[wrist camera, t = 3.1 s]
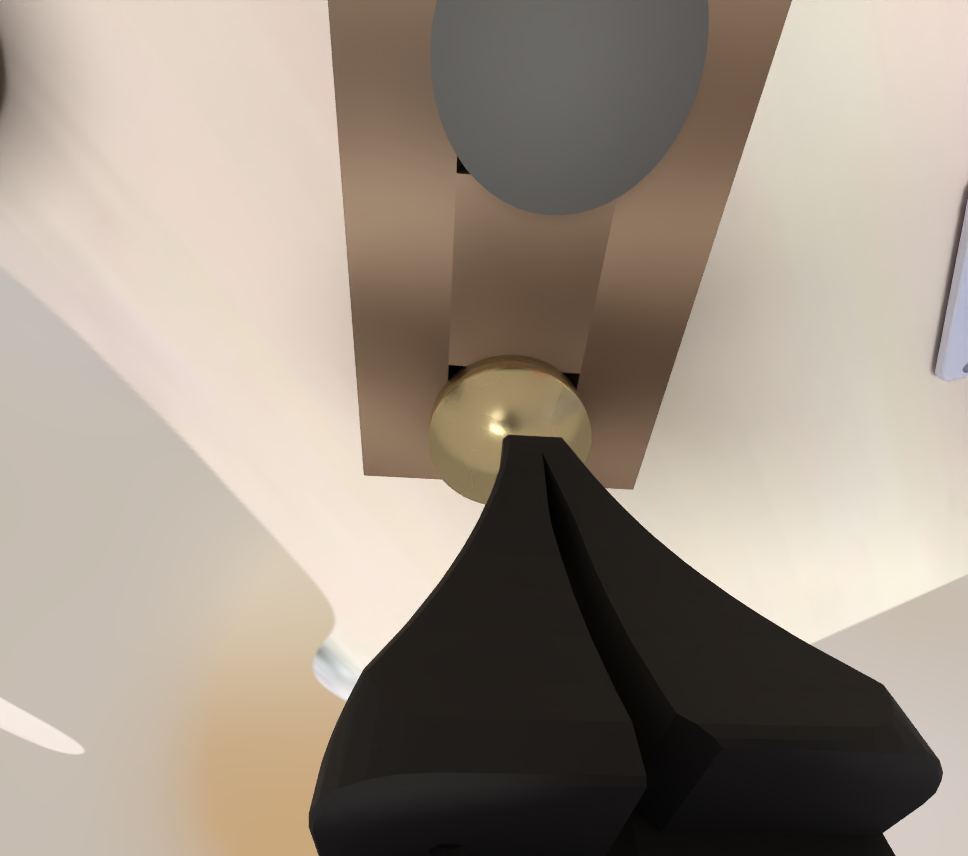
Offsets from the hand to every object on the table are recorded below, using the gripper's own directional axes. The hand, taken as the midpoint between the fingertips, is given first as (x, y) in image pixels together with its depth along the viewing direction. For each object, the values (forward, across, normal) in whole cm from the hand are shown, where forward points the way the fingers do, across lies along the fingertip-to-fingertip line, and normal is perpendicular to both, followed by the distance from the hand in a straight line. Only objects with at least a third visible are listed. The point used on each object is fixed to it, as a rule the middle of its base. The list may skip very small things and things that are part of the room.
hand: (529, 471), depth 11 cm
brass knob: (+9, 0, +2) cm, 9 cm away
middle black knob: (+7, 0, -8) cm, 11 cm away
